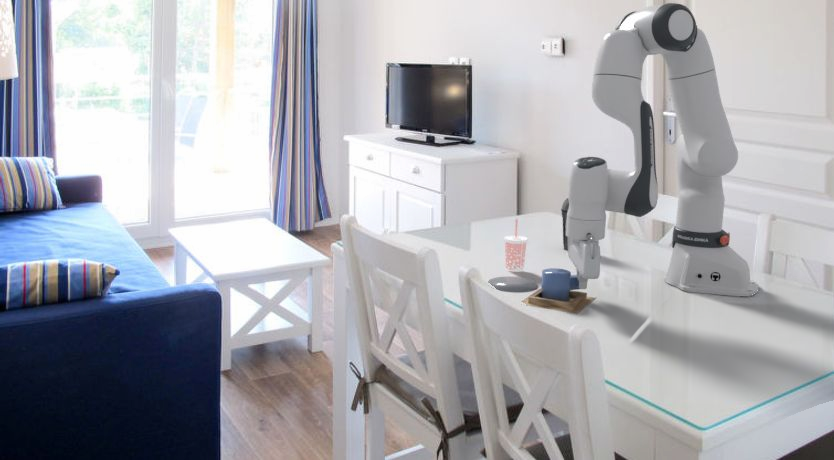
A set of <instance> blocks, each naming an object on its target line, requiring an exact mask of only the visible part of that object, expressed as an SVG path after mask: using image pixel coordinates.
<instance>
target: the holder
mask: <svg viewBox="0 0 834 460" xmlns="http://www.w3.org/2000/svg"><path fill="white" fill-rule="evenodd" d="M596 299H597V297H593V296H588V293H587V292H584V291H577V290H570V295H569V301H568V302H564V301H558V300H552V299H546V298H541V288H539V289H537V290H536V291H534V292H533V293H531V294H530V295H529V296H527V297H526V298H524V299H523V300H521V301H520V302H523V303H525V304H526V305H525V306H528V305H529V306H528V307H534V308H539V309H540V308H541V309H546V310H553V311H558V312H564V313H565V312H566V313H570V314H571V313H572V314H576V315H578V314H579V313H580V312H581V311H583V310H584V309H585V308H586V307H587V306H589V305H590V304H591V303H592V302H593V301H594V300H596Z"/></svg>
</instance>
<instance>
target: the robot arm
mask: <svg viewBox="0 0 834 460" xmlns="http://www.w3.org/2000/svg"><path fill="white" fill-rule="evenodd" d="M710 47H711V46H710V44H709V40H708V39H707V36H706V34H705V33H704V31H703V29H700V28H698V26H697V22H696V18H695V16H694V15H693V13H692V11H691V10H690V9H689V8H688V7H687V6H686V5H684V4H681V3H678V2H677V3H675V2H668V3H664V4H657V5H656V4H655V5H651V6H650V5H649V6H647V7H645V8H642V9H639V10H635V11H632V12H629V13H627V14H626V15H624V16H623V17H622V18H621V19H620V20H618V22H617V24H616V26H615V28H614V30H612V31H610V32H608V33H607V34H605V35H604V36H603V38H602V40H601V43H600V46H599V48H598V51H597V57H596V60H595V63H594V70H593V76H592V84H591V97H592V101H593V103H594V104H595V106H596V107H597V109H598V110H600V112H602V113H603V114H605V115H606V116H608V117H610V118H612V119H614V120H616V121H618V122H620V123H622V124H624V126H626V127H628V128H629V130H630V131H631V133H632V135H633V136H632V137H633V147H634V148H633V150H634V151H633V152H634V170H633V171H626V170H624V171H623V170H616V169H615V170H614V169H609V168H608V162H607V161H606V160H605V159H604V158H602V157H597V156H586V157H580V158H578V159H576V160H575V161H574V162H573V163H572V166H571V169H570V175H569V183H568V190H567V191H568V192H567V193H568V194H567V198H568V200H569V209H568V212H567V220H566V225H565V228H566V236H567V237H568V251H567V253H568V258H569V260H570V262H572V264H573V265H574V267H575V268H576V269H575V271H576V275H577V285H578V287H579V288H580V289H579V290H586V289H587V288H588V281H589V280H597V279H599V277H600V272H601V247H600V245H599V244H600V243H599V242H600V241H601V240H604V239H605V238H606V224H607V214H606V212H613V213H620V214H626V215H630V216H633V217H637V218H641V217H643V216H645V215H647V214H649V213H650V212H652V211H653V210H654V209H655V208H656V207H657V203H658V199H659V188H658V187H659V186H658V180H657V178H658V177H657V170H656V169H657V167H656V166H657V165H656V146H655V145H656V142H655V141H656V139H655V123H654V115H653V114H654V113H653V109H652V106H651V104H650V103H648V102H647V101H646V100H645V99H644V96H643V92H642V79H643V66H644V63H645V61H646V58H647V57H648V56H651V55H653V56H654V55H661V57H662V59H663V60H664V62H665V69H666V74H667V81H668V86H669V90H670V91H669V92H670V96H671V102H672V106H673V107H672V108H673V111H674V114H675V116H676V119H677V121H678V125H679V127H680V131H681V134H680V135H679V136H678V138H677V141H676V144H675V151H676V170H677V171H676V174H677V175H676V176H677V207H676V220H675V226H673V231H672V235H671V236H672V239H671V244H672V245H671V248H672V251H671V257H670V261H669V265H668V268H667V271H666V273H665V277H664V279H663V280H664V281H665V283H667V284H669V285H671V286H674V287H677V288H678V289H679V290H681V291H684V292H689V293H690V292H691V293H701V294H708V295H709V294H711V295H712V294H713V295H722V296H730V297H732V296H733V297H740V296H748V297H751V296H750V295H752V294H754V293H756V292H757V290H758V291H759V289H758V288H759V283H758V282H757V281H755V280H751V272H750V267H749V266H750V265H749V263H748V261H746V259H744V258H743V257H742V256H741V255H739V254H738V253H737V252H736V251H735V250H734V249H733V248H732V247H730V239H731V238H730V237H731V236H730V235H731V233H730V232H726V231H725V230H724V229H723V222H724V221H723V220H724V212H725V211H724V210H725V202H726V201H725V199H726V198H725V194H724V187H723V178H722V177H723V176H726V175H728V174H729V173H730V172H731V171H733V169H734V168H735V167H736V165H737V163H738V160H739V152H738V149H737V146H736V144H735V141H734V137H733V134H732V131H731V127H730V125H729V121H728V118H727V115H726V112H725V109H724V107H723V106H724V105H723V103H722V98H721V94H720V87H719V83H718V78H717V72H716V66H715V62H714V58H713V54H712V50H711V48H710ZM757 293H758V292H757ZM757 293H756V294H757ZM752 296H753V295H752Z"/></svg>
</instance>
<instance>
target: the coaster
mask: <svg viewBox="0 0 834 460" xmlns="http://www.w3.org/2000/svg"><path fill="white" fill-rule="evenodd" d="M487 282H488V283H490V284H491V285H492V286H494V287H495V288H496V289H495V290H497V289H498V290H497V291H502V292H509V293H510V292H511V293H521V292H530V291H533V290H536V289H537V287H538V283H537V282H536V281H535V280H533V279H531V278H525V277H521V276H520V277H519V276H497V277H492V278H491V279H490V278H489V280H488V281H487ZM488 283H487V284H488Z"/></svg>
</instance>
